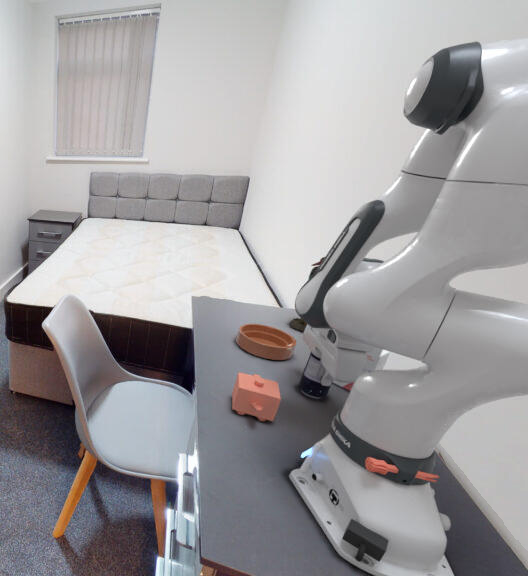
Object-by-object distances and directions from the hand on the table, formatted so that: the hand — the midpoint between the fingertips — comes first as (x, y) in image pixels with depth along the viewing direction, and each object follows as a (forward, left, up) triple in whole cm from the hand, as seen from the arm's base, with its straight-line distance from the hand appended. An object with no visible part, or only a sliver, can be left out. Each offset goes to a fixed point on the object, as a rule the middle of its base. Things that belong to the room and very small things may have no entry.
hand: (318, 375), depth 89 cm
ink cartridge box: (+7, -10, -5) cm, 13 cm away
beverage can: (0, 0, -5) cm, 5 cm away
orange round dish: (+20, +6, -5) cm, 22 cm away
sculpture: (+39, -10, -5) cm, 41 cm away
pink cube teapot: (-13, +16, -5) cm, 21 cm away
